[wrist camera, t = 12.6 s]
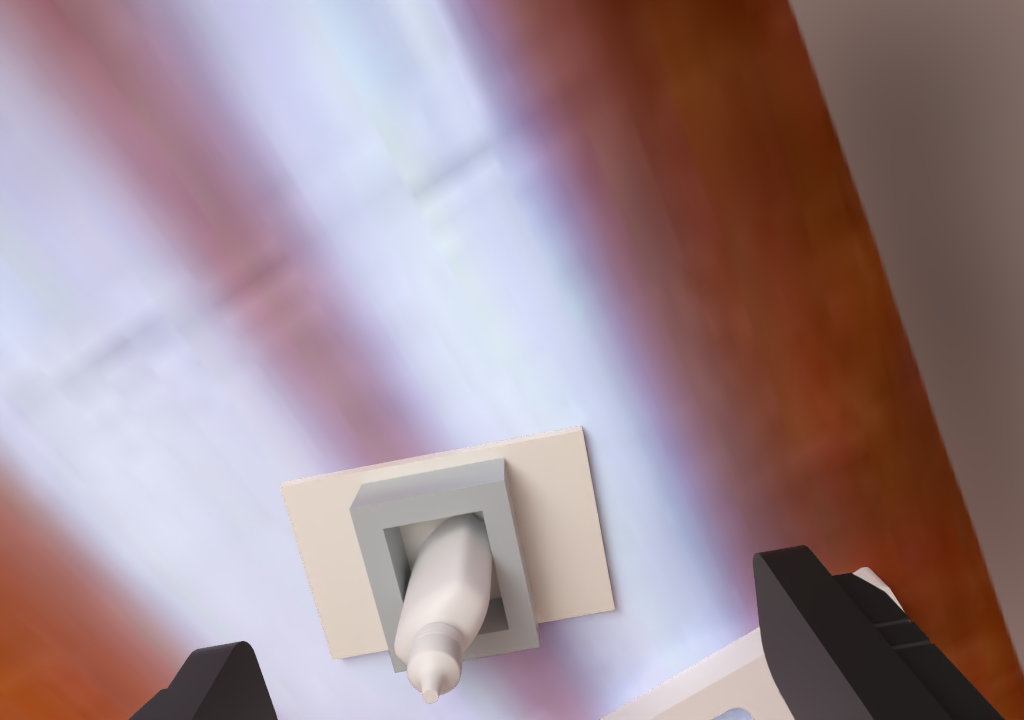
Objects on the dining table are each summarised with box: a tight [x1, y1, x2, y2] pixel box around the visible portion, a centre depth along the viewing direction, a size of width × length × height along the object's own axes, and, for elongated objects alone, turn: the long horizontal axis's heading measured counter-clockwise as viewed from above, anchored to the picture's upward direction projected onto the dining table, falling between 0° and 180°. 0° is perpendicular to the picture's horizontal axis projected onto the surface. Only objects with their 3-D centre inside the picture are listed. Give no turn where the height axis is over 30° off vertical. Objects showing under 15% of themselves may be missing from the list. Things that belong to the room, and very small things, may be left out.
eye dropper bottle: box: [394, 513, 492, 704], centre depth 34 cm, size 4×6×12 cm
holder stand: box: [280, 426, 615, 673], centre depth 38 cm, size 12×18×4 cm, turn 101°
